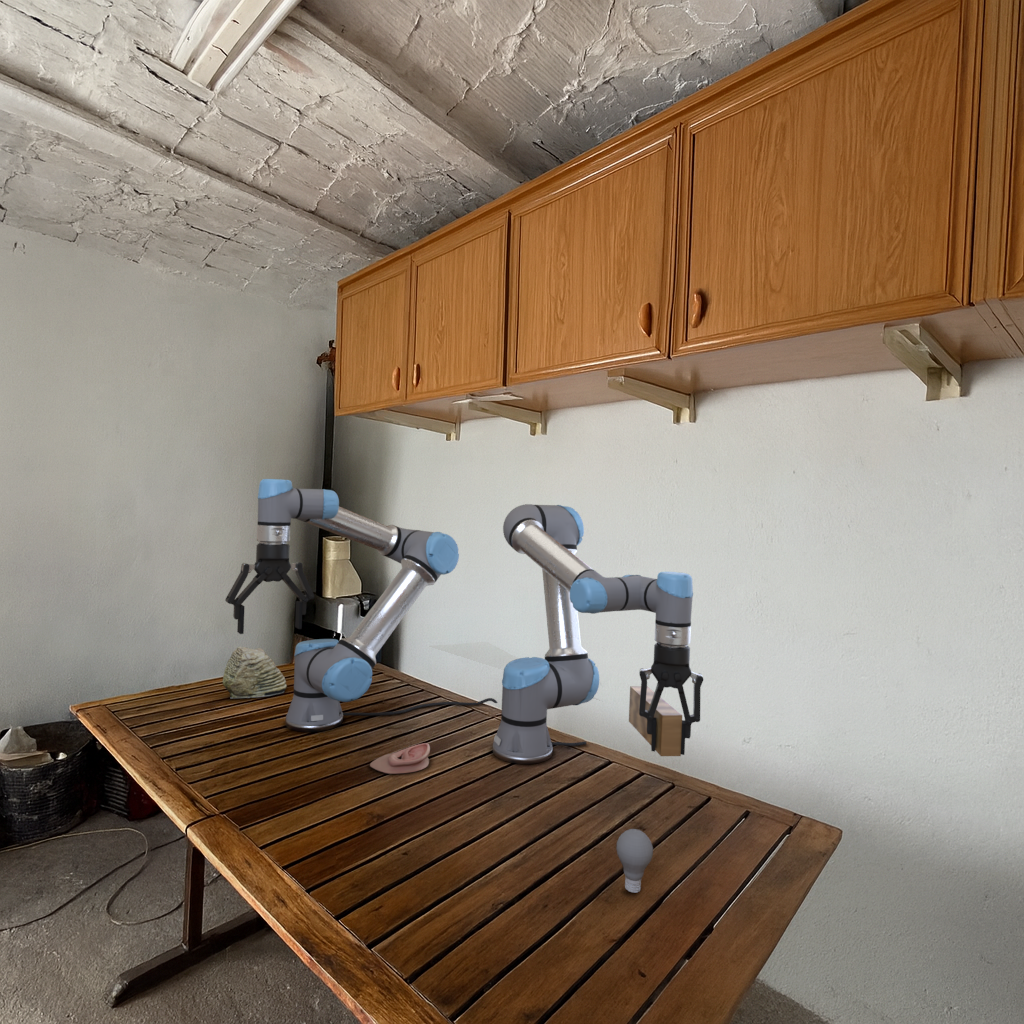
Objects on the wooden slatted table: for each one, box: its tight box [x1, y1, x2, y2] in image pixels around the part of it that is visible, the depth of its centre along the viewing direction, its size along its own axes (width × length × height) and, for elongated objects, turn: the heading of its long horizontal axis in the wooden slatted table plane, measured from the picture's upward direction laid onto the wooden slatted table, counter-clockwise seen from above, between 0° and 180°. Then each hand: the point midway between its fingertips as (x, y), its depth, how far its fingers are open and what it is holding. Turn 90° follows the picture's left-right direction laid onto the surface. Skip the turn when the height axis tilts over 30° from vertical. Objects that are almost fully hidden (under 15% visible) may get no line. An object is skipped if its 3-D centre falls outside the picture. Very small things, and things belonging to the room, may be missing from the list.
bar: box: [628, 685, 683, 757], centre depth 147 cm, size 22×4×9 cm, turn 7°
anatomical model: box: [369, 742, 431, 775], centre depth 151 cm, size 13×4×12 cm
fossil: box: [222, 646, 288, 699], centre depth 198 cm, size 9×18×15 cm, turn 132°
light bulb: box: [615, 828, 654, 894], centre depth 106 cm, size 6×6×10 cm
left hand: (270, 630), depth 153 cm, fingers open, 13 cm apart
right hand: (667, 750), depth 137 cm, fingers closed on bar, 5 cm apart
